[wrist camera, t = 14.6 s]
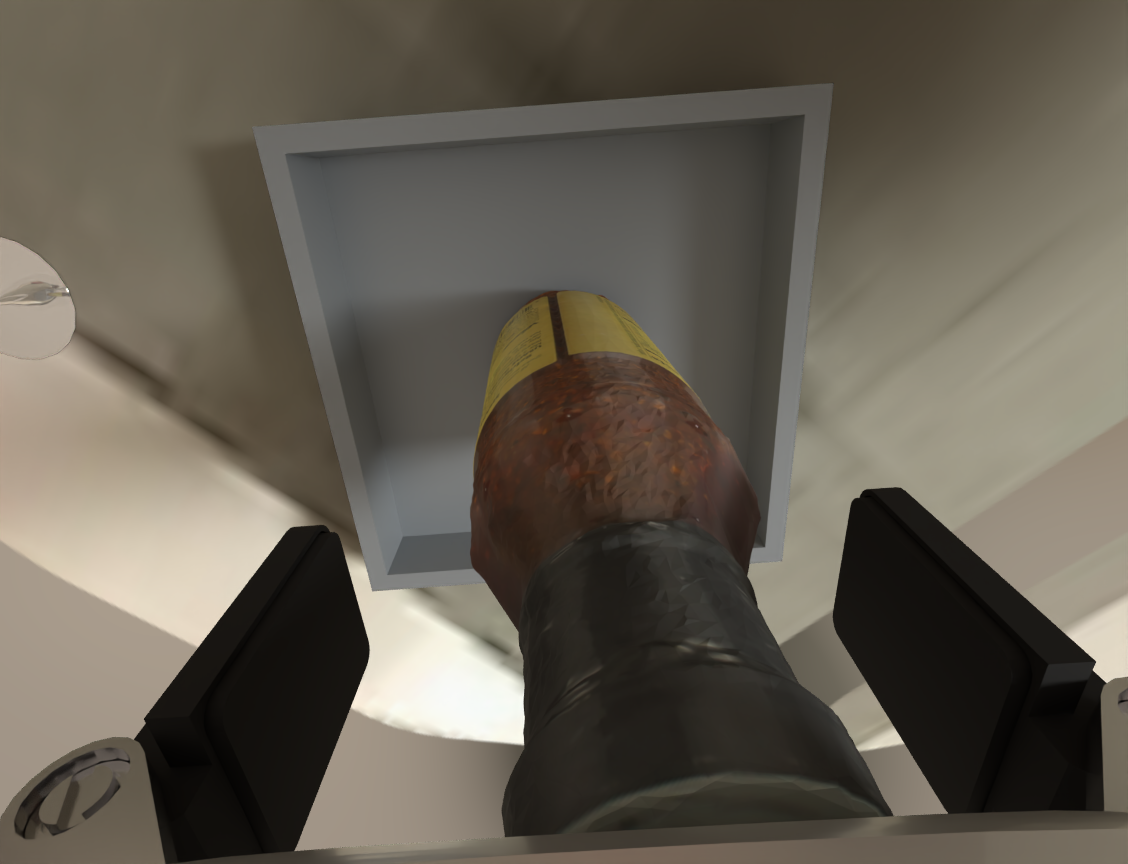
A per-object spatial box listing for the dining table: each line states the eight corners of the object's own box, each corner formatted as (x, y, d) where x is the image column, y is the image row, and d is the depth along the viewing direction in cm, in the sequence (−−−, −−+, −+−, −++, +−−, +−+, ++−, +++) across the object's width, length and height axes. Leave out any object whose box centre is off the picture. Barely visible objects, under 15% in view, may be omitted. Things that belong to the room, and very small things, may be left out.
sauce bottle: (516, 438, 25) (436, 1114, 7) (477, 300, 23) (189, 793, 4) (661, 408, 25) (980, 1039, 6) (638, 264, 22) (1055, 638, 4)
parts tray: (789, 98, 21) (833, 82, 17) (755, 517, 28) (782, 561, 25) (298, 135, 21) (252, 126, 17) (392, 544, 28) (372, 591, 25)
